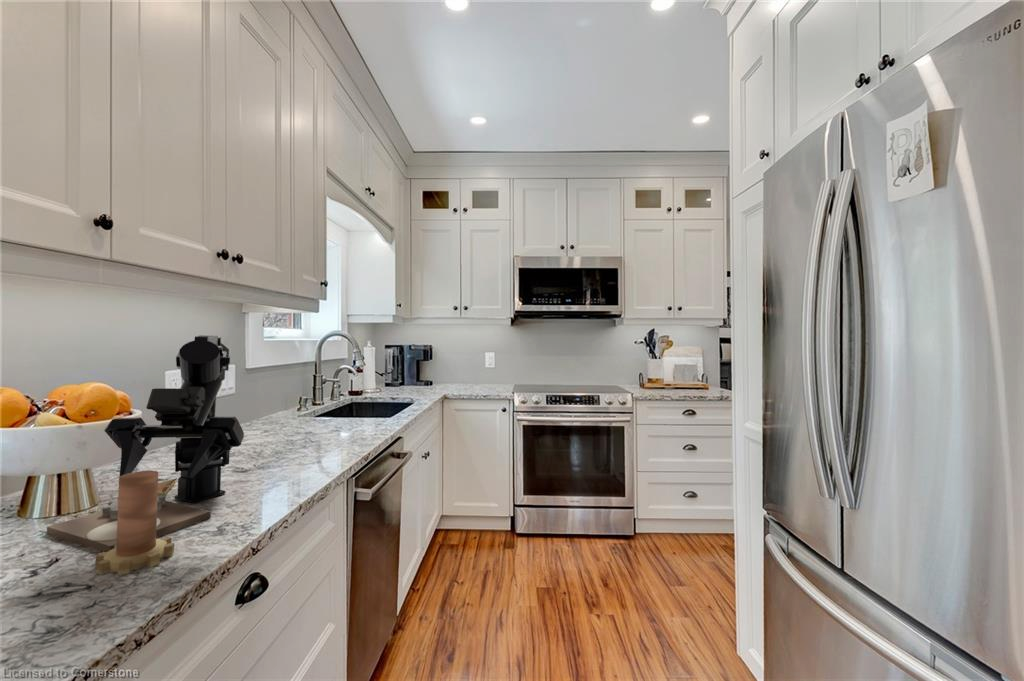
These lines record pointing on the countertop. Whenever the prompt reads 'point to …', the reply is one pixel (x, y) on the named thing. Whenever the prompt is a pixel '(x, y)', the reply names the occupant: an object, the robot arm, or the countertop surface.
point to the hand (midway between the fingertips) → (156, 477)
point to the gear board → (103, 525)
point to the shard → (165, 486)
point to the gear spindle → (136, 527)
